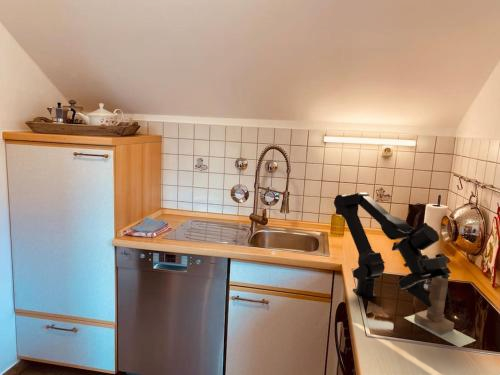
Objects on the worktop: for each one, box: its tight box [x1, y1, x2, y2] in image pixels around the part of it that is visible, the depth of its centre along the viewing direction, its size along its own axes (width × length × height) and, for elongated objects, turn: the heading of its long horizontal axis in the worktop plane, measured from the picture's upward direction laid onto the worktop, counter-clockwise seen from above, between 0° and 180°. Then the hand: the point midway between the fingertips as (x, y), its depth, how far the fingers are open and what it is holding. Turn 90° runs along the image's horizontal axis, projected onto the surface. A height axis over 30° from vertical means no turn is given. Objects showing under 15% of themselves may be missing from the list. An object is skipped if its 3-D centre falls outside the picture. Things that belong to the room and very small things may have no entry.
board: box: [404, 314, 477, 348], centre depth 115 cm, size 18×8×1 cm, turn 31°
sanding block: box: [414, 276, 455, 335], centre depth 116 cm, size 9×6×15 cm, turn 31°
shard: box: [366, 299, 389, 318], centre depth 126 cm, size 11×8×2 cm
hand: (440, 303), depth 115 cm, fingers open, 9 cm apart
